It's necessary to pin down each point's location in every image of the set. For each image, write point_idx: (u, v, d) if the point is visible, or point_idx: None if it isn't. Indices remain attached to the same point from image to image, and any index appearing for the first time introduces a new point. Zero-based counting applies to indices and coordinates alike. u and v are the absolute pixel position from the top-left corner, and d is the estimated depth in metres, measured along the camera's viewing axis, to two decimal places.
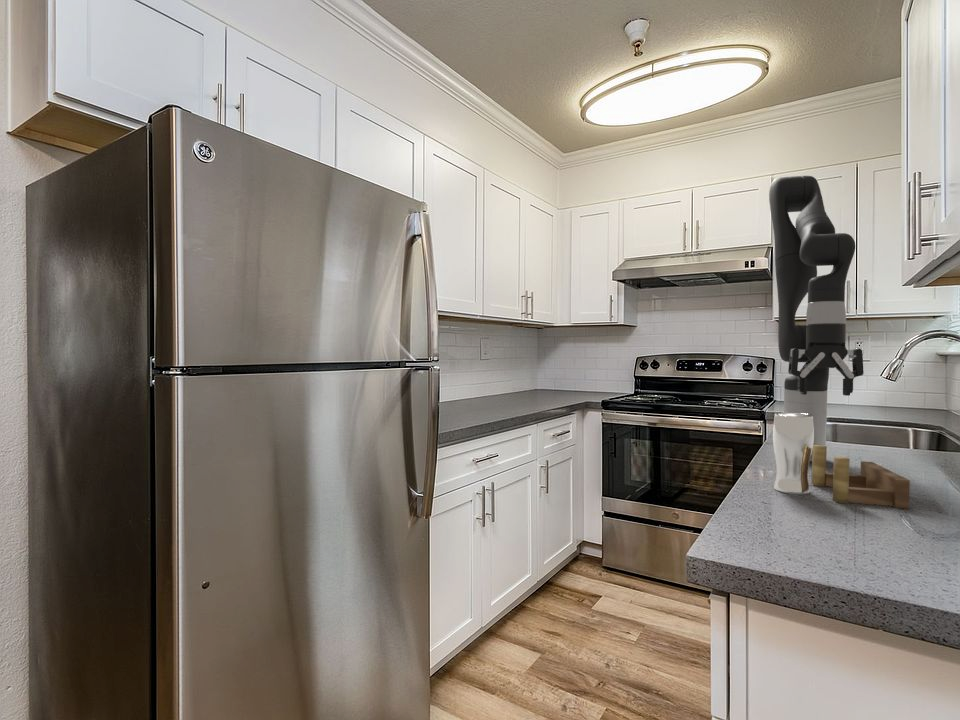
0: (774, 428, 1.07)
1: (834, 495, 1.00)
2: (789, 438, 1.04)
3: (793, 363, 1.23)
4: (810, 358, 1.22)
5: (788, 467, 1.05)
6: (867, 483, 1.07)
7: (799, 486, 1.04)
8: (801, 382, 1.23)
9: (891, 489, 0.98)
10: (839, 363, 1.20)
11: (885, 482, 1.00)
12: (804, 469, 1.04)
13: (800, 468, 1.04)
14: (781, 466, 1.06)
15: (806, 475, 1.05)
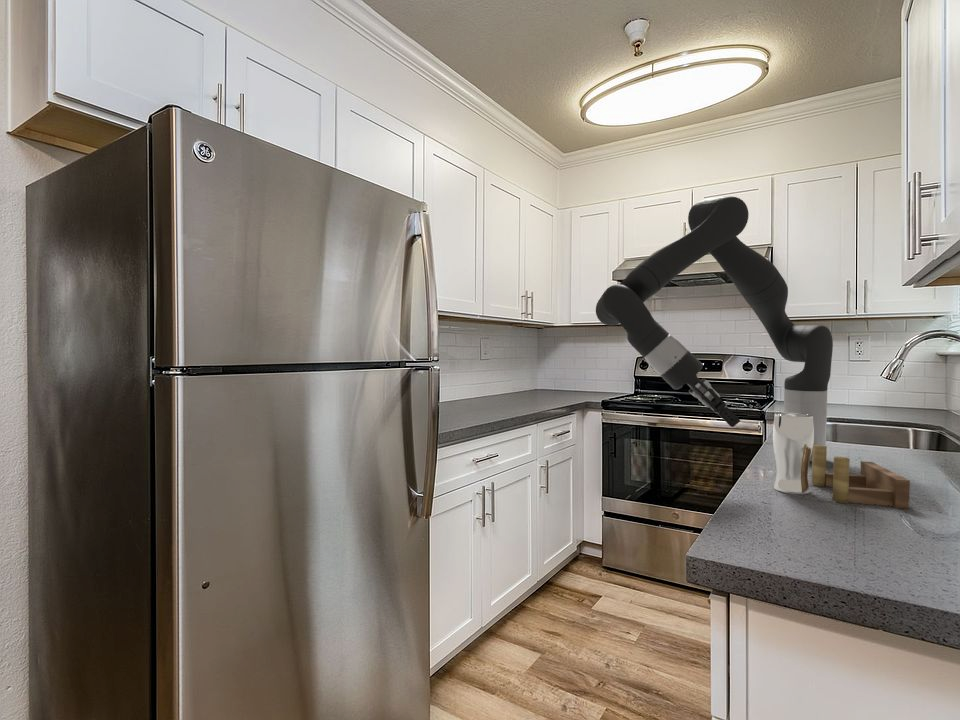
0: (774, 428, 1.07)
1: (834, 495, 1.00)
2: (789, 438, 1.04)
3: None
4: None
5: (788, 467, 1.05)
6: (867, 483, 1.07)
7: (799, 486, 1.04)
8: None
9: (891, 489, 0.98)
10: None
11: (885, 482, 1.00)
12: (804, 469, 1.04)
13: (800, 468, 1.04)
14: (781, 466, 1.06)
15: (806, 475, 1.05)
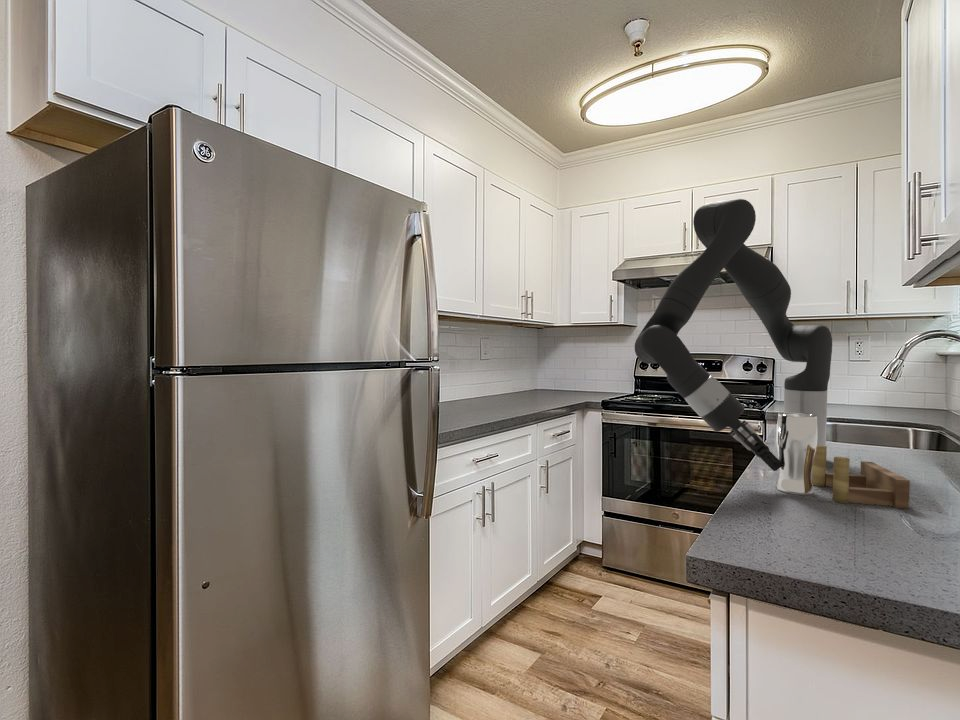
0: (778, 428, 1.07)
1: (834, 495, 1.00)
2: (793, 438, 1.04)
3: (745, 443, 1.13)
4: None
5: (792, 467, 1.05)
6: (867, 483, 1.07)
7: (802, 486, 1.04)
8: None
9: (891, 489, 0.98)
10: None
11: (885, 482, 1.00)
12: (807, 470, 1.04)
13: (804, 468, 1.04)
14: (784, 466, 1.06)
15: (809, 475, 1.05)
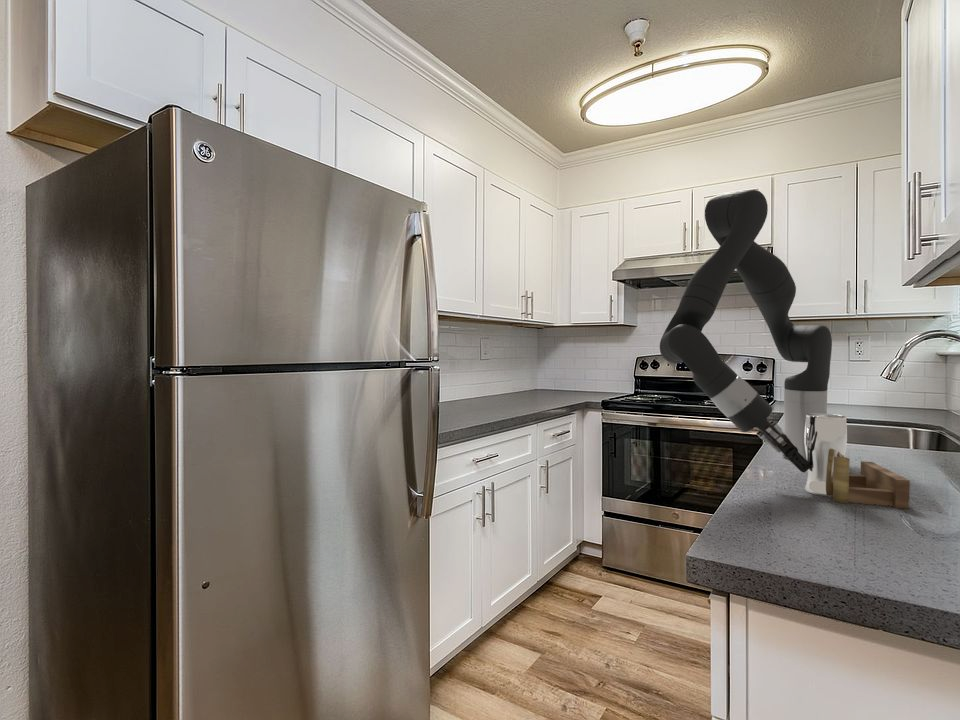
0: (806, 429, 1.05)
1: (834, 495, 1.00)
2: (822, 439, 1.02)
3: None
4: None
5: (821, 469, 1.03)
6: (867, 483, 1.07)
7: (832, 488, 1.03)
8: None
9: (891, 489, 0.98)
10: (769, 444, 1.07)
11: (885, 482, 1.00)
12: None
13: None
14: (813, 468, 1.04)
15: None
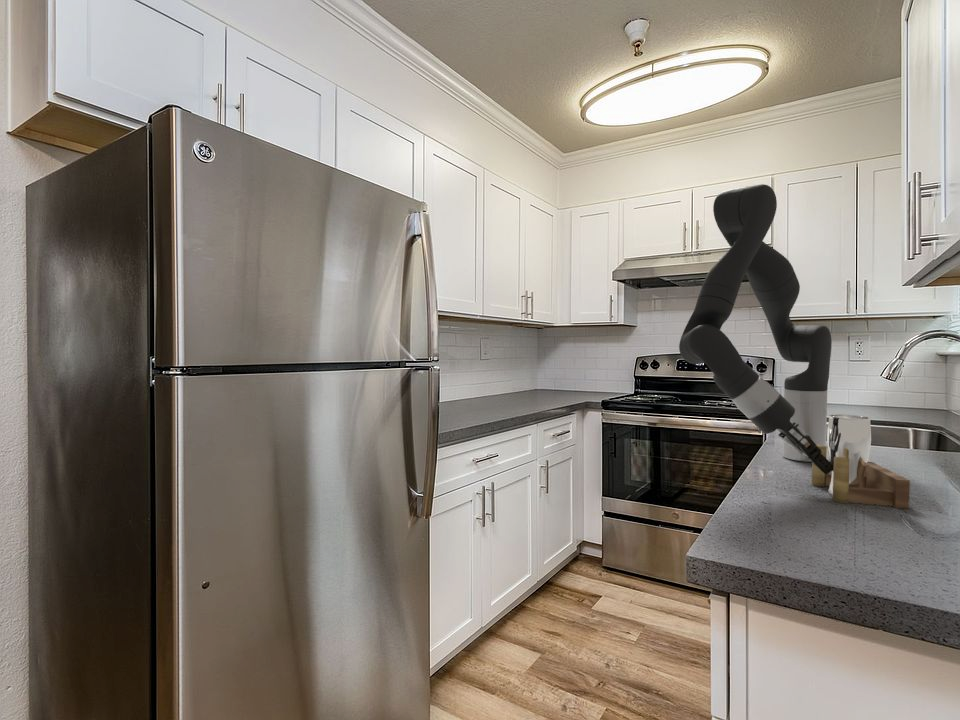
0: (829, 431, 1.04)
1: (834, 495, 1.00)
2: (846, 441, 1.01)
3: None
4: None
5: None
6: (867, 483, 1.07)
7: None
8: None
9: (891, 489, 0.98)
10: (792, 445, 1.06)
11: (885, 482, 1.00)
12: (861, 473, 1.02)
13: (858, 472, 1.02)
14: None
15: (863, 479, 1.02)
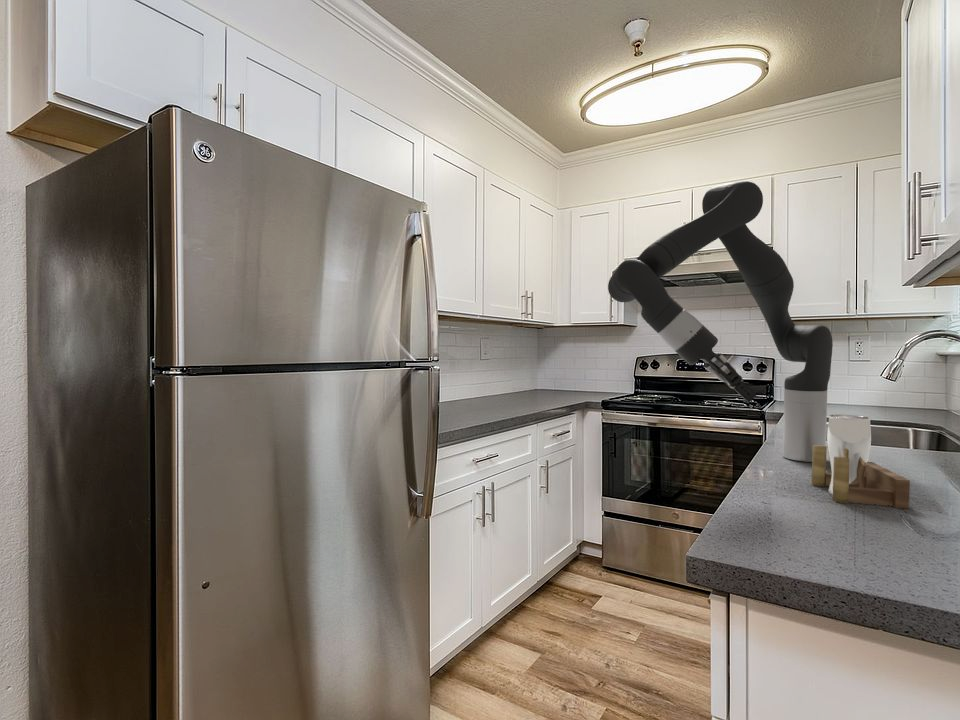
0: (829, 431, 1.04)
1: (834, 495, 1.00)
2: (846, 441, 1.01)
3: None
4: None
5: None
6: (867, 483, 1.07)
7: None
8: None
9: (891, 489, 0.98)
10: None
11: (885, 482, 1.00)
12: (861, 473, 1.02)
13: (858, 472, 1.02)
14: None
15: (863, 479, 1.02)
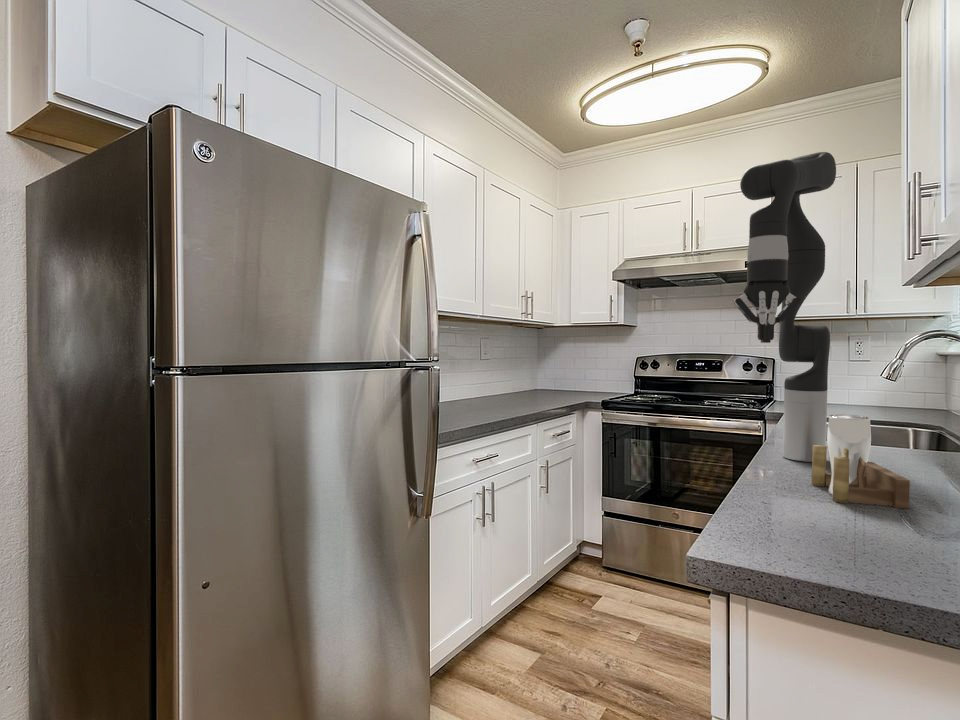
0: (829, 431, 1.04)
1: (834, 495, 1.00)
2: (846, 441, 1.01)
3: (746, 312, 1.14)
4: (755, 303, 1.14)
5: None
6: (867, 483, 1.07)
7: None
8: (761, 329, 1.14)
9: (891, 489, 0.98)
10: (772, 303, 1.12)
11: (885, 482, 1.00)
12: (861, 473, 1.02)
13: (858, 472, 1.02)
14: None
15: (863, 479, 1.02)
